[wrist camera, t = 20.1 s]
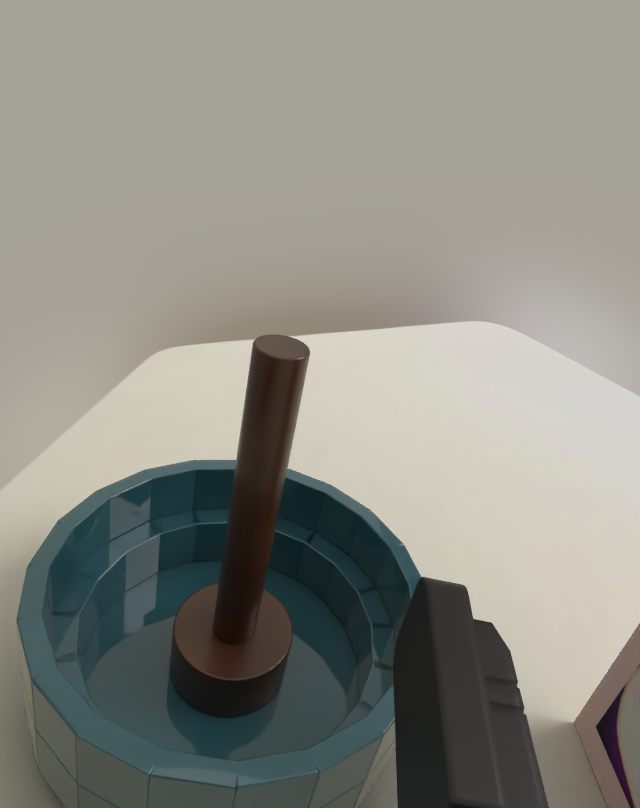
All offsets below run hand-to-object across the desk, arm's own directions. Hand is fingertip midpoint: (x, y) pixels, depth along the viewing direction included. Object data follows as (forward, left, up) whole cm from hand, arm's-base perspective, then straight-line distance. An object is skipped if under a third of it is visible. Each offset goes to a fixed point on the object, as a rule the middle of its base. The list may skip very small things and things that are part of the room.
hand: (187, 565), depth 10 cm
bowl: (+3, +9, -16) cm, 18 cm away
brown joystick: (+3, +9, -15) cm, 18 cm away
